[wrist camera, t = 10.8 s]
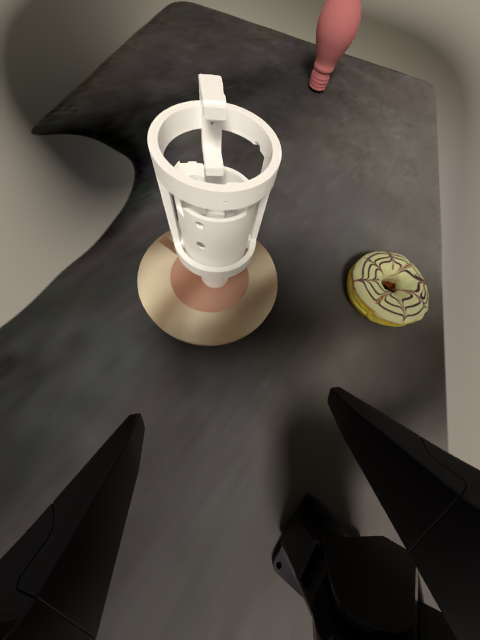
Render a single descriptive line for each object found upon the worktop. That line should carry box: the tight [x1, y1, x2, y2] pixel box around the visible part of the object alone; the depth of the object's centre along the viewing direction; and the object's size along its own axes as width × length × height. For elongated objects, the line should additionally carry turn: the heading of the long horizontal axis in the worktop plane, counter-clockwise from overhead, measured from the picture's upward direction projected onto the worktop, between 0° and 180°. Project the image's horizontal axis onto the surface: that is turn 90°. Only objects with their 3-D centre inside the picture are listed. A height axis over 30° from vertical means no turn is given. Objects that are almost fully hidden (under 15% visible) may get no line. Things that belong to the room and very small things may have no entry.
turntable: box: [137, 230, 278, 346], centre depth 25 cm, size 16×16×1 cm
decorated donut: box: [346, 251, 429, 327], centre depth 28 cm, size 10×11×4 cm
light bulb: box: [309, 0, 362, 91], centre depth 39 cm, size 7×7×12 cm
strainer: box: [147, 74, 282, 288], centre depth 17 cm, size 7×7×15 cm
